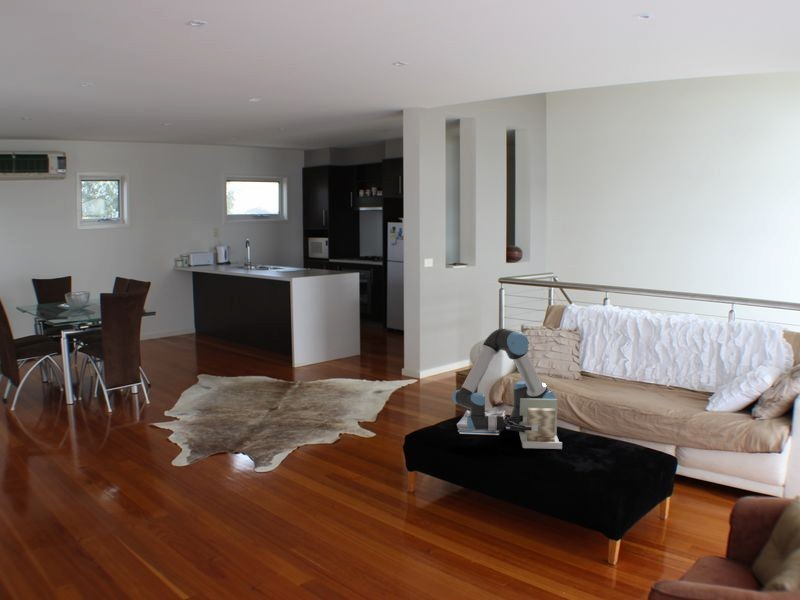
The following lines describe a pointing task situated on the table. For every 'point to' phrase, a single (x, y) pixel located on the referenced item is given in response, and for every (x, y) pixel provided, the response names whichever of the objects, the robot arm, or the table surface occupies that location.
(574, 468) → the table surface
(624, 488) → the table surface
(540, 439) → the offcut slab top
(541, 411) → the beige zigzag-marked block
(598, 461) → the table surface
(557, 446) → the tray with upright backboard
